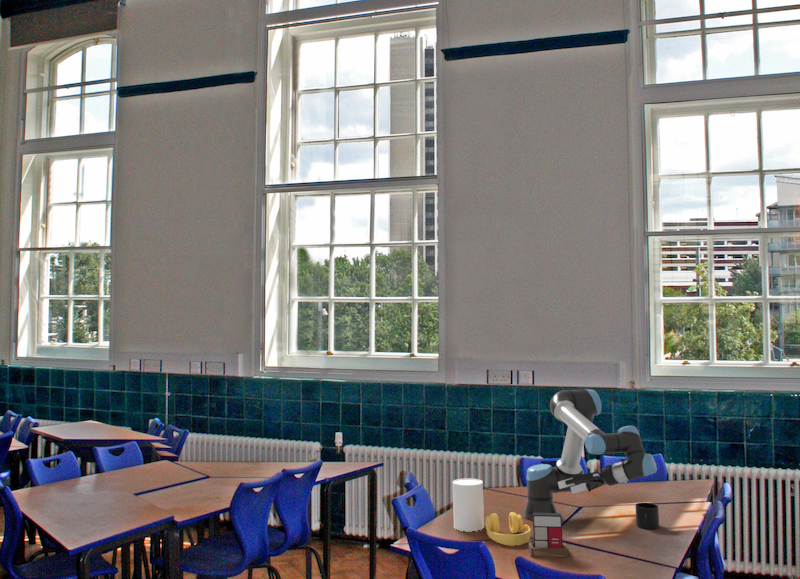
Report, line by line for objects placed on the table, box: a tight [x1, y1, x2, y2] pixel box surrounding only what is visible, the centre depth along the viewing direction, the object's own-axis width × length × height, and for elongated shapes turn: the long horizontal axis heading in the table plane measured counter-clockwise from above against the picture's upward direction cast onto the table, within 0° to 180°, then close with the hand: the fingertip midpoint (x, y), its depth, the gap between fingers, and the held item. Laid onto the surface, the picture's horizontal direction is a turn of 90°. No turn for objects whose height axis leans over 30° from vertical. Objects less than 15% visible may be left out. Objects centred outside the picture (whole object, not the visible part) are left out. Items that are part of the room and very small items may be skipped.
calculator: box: [532, 512, 564, 548], centre depth 254 cm, size 11×4×15 cm, turn 80°
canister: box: [452, 477, 485, 533], centre depth 290 cm, size 14×14×20 cm
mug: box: [634, 502, 660, 530], centre depth 284 cm, size 9×12×9 cm
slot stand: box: [527, 541, 570, 558], centre depth 253 cm, size 8×14×3 cm, turn 86°
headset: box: [484, 511, 531, 547], centre depth 274 cm, size 18×21×9 cm
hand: (565, 488), depth 261 cm, fingers open, 13 cm apart
